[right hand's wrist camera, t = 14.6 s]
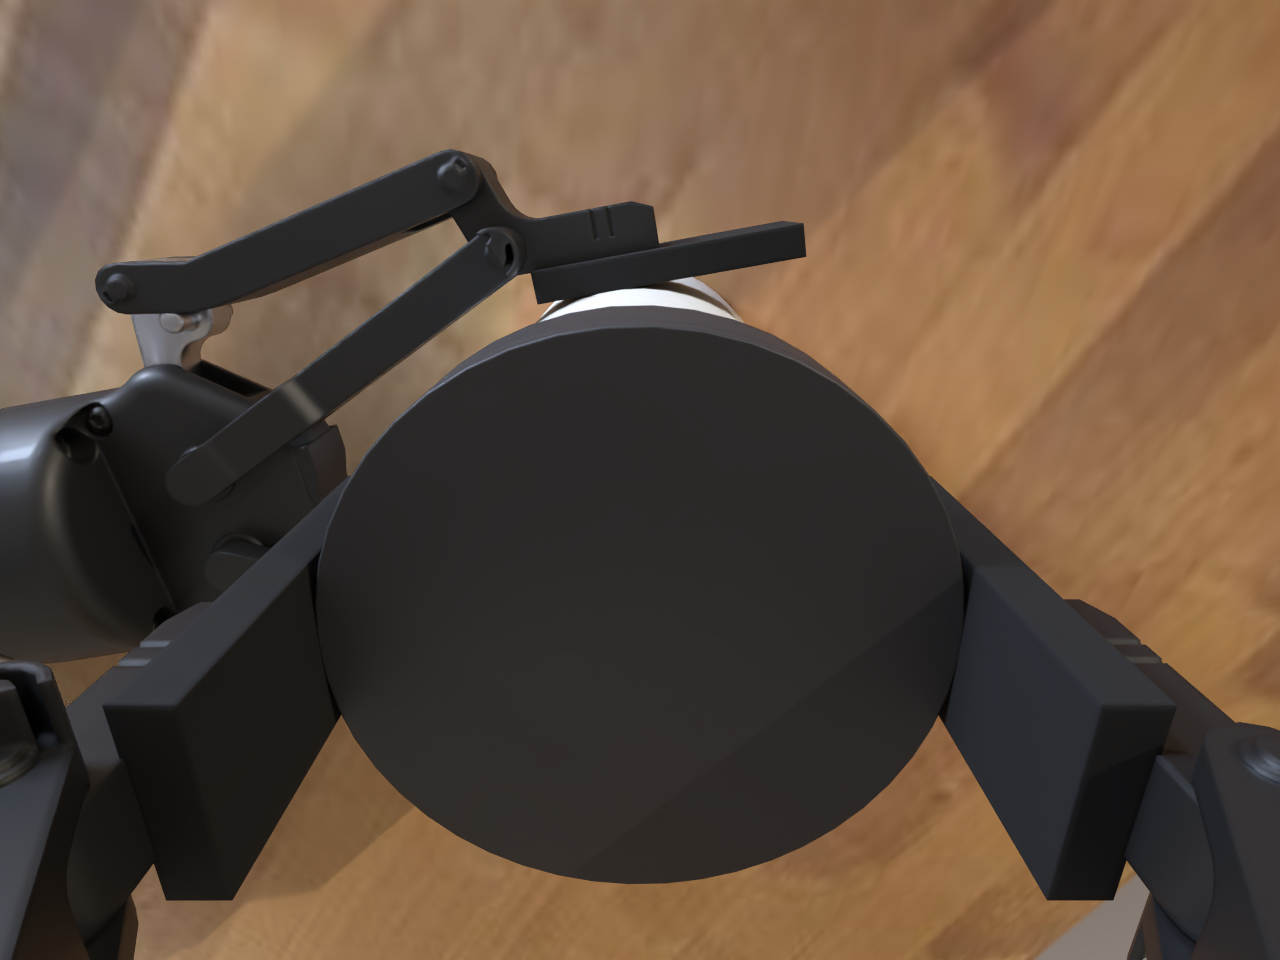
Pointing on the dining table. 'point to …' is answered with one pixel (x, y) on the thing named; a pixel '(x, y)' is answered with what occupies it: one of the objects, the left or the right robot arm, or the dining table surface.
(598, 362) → the lid
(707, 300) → the jar
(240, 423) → the left robot arm
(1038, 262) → the dining table surface
